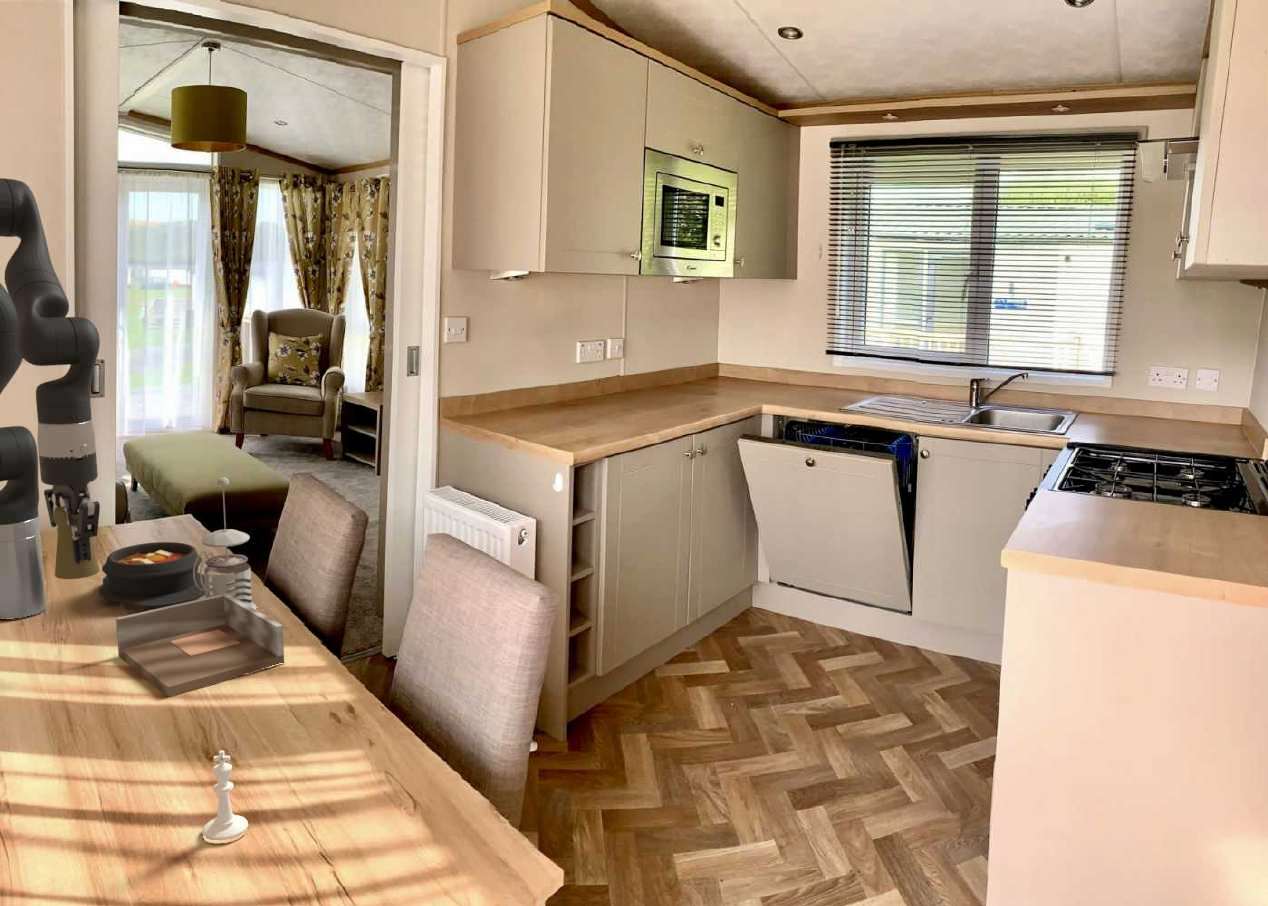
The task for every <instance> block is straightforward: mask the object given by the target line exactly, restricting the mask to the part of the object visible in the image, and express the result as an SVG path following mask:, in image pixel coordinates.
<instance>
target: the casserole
mask: <svg viewBox="0 0 1268 906" xmlns="http://www.w3.org/2000/svg"><path fill="white" fill-rule="evenodd" d="M199 555H200V554H198V552H197V550H196V547H195V546H193V545H190V544H187V543H182V542H173V541H172V542H171V541H160V542H159V541H158V542H147V543H140V544H139V543H138V544H134V545H129V546H125V547H122V548H118V549H116V550H114V551H112V552H111V553H110V554H108V556H107V557H106V558H107V559H106V562H105V564H103V566H102V568H101V570H102V572H103V573H104V574H105V577H103V578H102V585H101V586H100V588H99V590H98V595H100V597H102V598H103V599H106V600H108V601H112V602H115V603H116V602H117V603H123V604H129V605H135V606H138V607H141V608H149V609H151V608H163V607H168V606H172V605H177V604H181V603H186V602H190V601H195V600H199V599H201V598H202V597H205V591H203V590H200V589H199V588H198V587H197V586H196V584H195V582H194V578H193V568H194V565H195V561H196V559H197V557H198V556H199ZM202 563H203V558H202V556H200V557H199V559H198V560H197V563H196V566H195V580H196V582H197V585H198V586H199V587H200V588H201V589H204V588H203V586H202V584H201V581H200V572H199V566H201V564H202ZM202 582H203V584H204V587H205V581H204V573H203V574H202Z"/></svg>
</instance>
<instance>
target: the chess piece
mask: <svg viewBox="0 0 1268 906" xmlns="http://www.w3.org/2000/svg"><path fill="white" fill-rule="evenodd" d="M212 758H213V759H212V760H213V762H219V763H218V764H216V765H214V766H213V768H212V772H213V774H214V776H215V779H216V782H217V783H215V784H214V785H213V788H212V790H213V792H214V793H217V794H218V804H217V814H216V815H217V816H216V817H215V818H213V819H211V820H209V821H208V822H207V823H206V824H204V827H203V828H202V834H203V835H204V836H205V837H206V838H207V839H210V840H220V841H221V840H226V839H231V838H234V837H237V836H240V835H241V834H242V833H243V832H244V831H245V830H246V829H247V827H248V826H249V823H248V822H249V821H248V820H247V818H245V817H244V816H241V815H238V814H234V813H233V811H232V809H233V808H232V805H231V799H230V795H229V792H230V791H232V790H233V789H234V783H233V782H232V781H229V779H230V776H231V772H232V770H233V765H232V764H231V763H230V761H231V755H225V750H219V752H218V755H214V756H213V757H212ZM228 762H229V763H228Z"/></svg>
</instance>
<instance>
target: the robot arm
mask: <svg viewBox="0 0 1268 906" xmlns="http://www.w3.org/2000/svg"><path fill="white" fill-rule="evenodd" d="M38 207H39V206H38V203H37V200H36V197H35V196H34V193H33V191H32V189H31V188H30V187H29V185H28V184H26V182H23V181H21V180H17V179H13V178H3V177H2V178H0V237H6V238H13V237H15V238H16V237H17V238H19V240H20V242H19V244H18V246H17V248H16V250H14V252H13V253H12V255H11V257H10V258H9V260H8V261H7V263H6V266H5V270H4V284H5V287H6V288H5V287H4V285H2V283H1V282H0V395H1V394H2V392H4V390H5V388H6V387H7V386H8V384H9V383H10V382H11V380H12V379H13V377H14V376H15V374H16V373H17V371H18V370H19V368H20V366H21V364H22V362H23V360H24V361H26V362H27V363H29V364H30V365H33V366H37V367H50V366H67V365H69V368H68V370H67V372H66V373H65V375H63V376H62V377H59V378H56V379H52V380H47V381H45V382H42V383H40V384H39V385H38V386H37V387H36V390H35V401H36V403H35V404H36V412H37V414H36V415H37V442H36V439H35V436H34V435H33V433H32V431H30V430H29V428H27V427H25V426H22V425H13V426H11V425H10V426H3V427H0V482H5V481H6V484H4V486H3V488H2V489H0V619H2V618H3V619H7V618H9V619H10V618H19V619H21V618H20V617H25V618H28V617H27V616H29V617H32V616H36V615H38V614H40V613H42V612H44V611H45V610H46V609H47V607H48V606H47V599H46V598H47V597H46V584H45V573H44V562H43V561H44V560H43V547H42V539H41V528H40V517H39V516H40V514H39V502H40V491H39V490H40V489H39V488H40V487H39V475H40V481H41V482H42V483H43V484H45V485H49V486H52V488H50V489H48V488H47V489H44V491H43V495H44V499H45V504H46V508H47V514H48V517H49V521H50V526H51V528H55V532H56V534H58V526H57V524H56V523H55V522H54V519H53V513H54V510H55V509H56V507H58V506H60V505H61V507H62V508H63V510H64V512H65V515H66V517H67V519H66V524H67V525H68V526H70V529H71V534H72V539H73V540H72V542H73V549H74V555H75V562H76V563H77V564H80V562H81V561H82V560H88V561H90V560H91V550H90V538H92V539H93V537H97V536H98V531H99V530H98V529H99V518H100V510H101V508H100V507H101V505H100V502H99V501H92V499H91V495H90V491H89V488H88V485H89V483H90V482H94V481H95V480H97V478H98V476H99V474H98V472H99V471H98V463H97V461H98V459H97V450H96V449H97V447H96V437H95V436H96V434H95V430H94V426H93V425H94V424H93V420H92V406H91V388H92V381H93V376H94V375H93V374H94V371H95V367H96V366H95V365H96V364H97V360H98V359H97V358H98V355H99V352H100V351H99V350H100V344H101V342H100V338H101V337H100V334H99V331H98V328H97V327H96V326H95V324H94V323H93V322H92V321H91V320H90V319H88V318H86V317H84V316H83V317H82V316H67V315H68V314H69V310H70V303H69V299H68V298H67V295H66V293H65V290H64V288H63V286H62V284H61V282H60V279H59V277H58V276H57V274H56V272H55V271H56V270H55V269H54V266H53V263H52V260H51V255H50V251H49V247H48V244H47V242H48V241H47V238H46V234H45V230H44V226H43V223H42V219H41V215H40V214H41V213H40V211H39V208H38ZM39 471H40V472H39ZM39 473H40V474H39ZM71 514H73V515H77V514H79V516H78V519H77V520H74V519H72V516H71ZM77 524H78V527H77ZM84 529H85V530H84ZM31 615H32V616H31Z"/></svg>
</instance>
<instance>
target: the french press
mask: <svg viewBox="0 0 1268 906" xmlns="http://www.w3.org/2000/svg"><path fill="white" fill-rule="evenodd" d="M216 483H217V485H218V486H222V499H223V500H222V501H223V502H222V503H223V524H224V529H219V530H215V531H213V532H211V533H208V534H207V535H205V536H204V537H203V538H202V539H200V540H201V543H202V544H203V545H204V546H207V547H208V548H209V547H210V548H211V547H212V548H225V554H219V555H214V554H213V553H214V552H209V553H208V554H207V552H206V550H203V551H202V552H201V553H199V554H198V555H199V556H198V557H197V559H196V561H195V565H194V568H193V578H194V582H195V584H196V586H197V587H198V588H199V589H200V590H203V591H205V595H204V597H205V598H208V597H212V596H217V595H221V594H226V593H227V594H229V595H231V596H233V597H234V598H236V599H238V600H240V601H241V602H243V603H245V604H247V605H248V606H250V607H252V608H253V609H255V610H256V608H258V606H257V605H256V604H255V603H254V602H253V601H252V598H253V595H252V587H251V586H252V580H251V579H252V574H251V573H252V572H251V566H250V564H249V563H247V562H248V561H249V558H248V557H247V556H246V555H244V554H230V553H229V554H228V549H227V548H228V547H234V546H239V545H243V544H244V543H247V542H248V541H249V540H250V535H249V534H248V533H246V532H243V531H239V530H237V529H232V528H231V529H229V528H228V529H227V526H226V525H227V523H226V506H225V505H226V504H225V486H228V485H229V483H230V481H229V478H227V477H219V479H217V481H216ZM203 553H204V558H203V559H204V560H202V562H201V564H200V569H199V573H200V581H201V584H202V586H203V588H204V589H201V588H200V587H199V586H198V585H197V582H196V580H195V566H196V563H197V560H198V559H199V557H202V556H201V555H203ZM210 555H211V557H209V556H210ZM204 564H206V567H204ZM203 567H204V569H203ZM202 570H203V571H202ZM202 572H203V575H204V581H205V587H204V584H203V582H202ZM210 572H215V573H219V574H210ZM210 579H211V580H212V581H210ZM232 581H234V582H232ZM210 586H212V587H210ZM256 606H257V607H256Z"/></svg>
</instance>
